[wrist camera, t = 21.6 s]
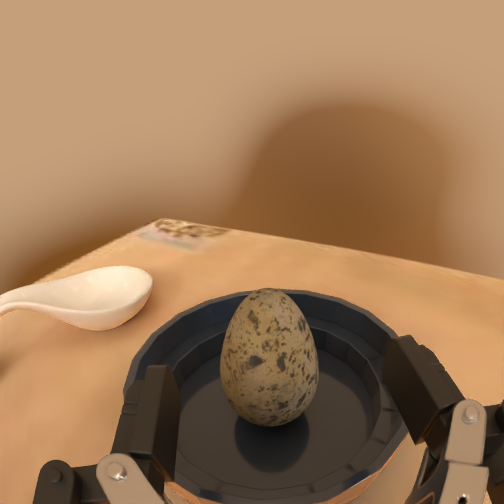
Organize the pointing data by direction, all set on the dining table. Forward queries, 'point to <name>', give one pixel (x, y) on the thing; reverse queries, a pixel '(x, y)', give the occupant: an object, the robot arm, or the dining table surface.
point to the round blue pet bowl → (287, 435)
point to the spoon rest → (86, 297)
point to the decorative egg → (269, 359)
